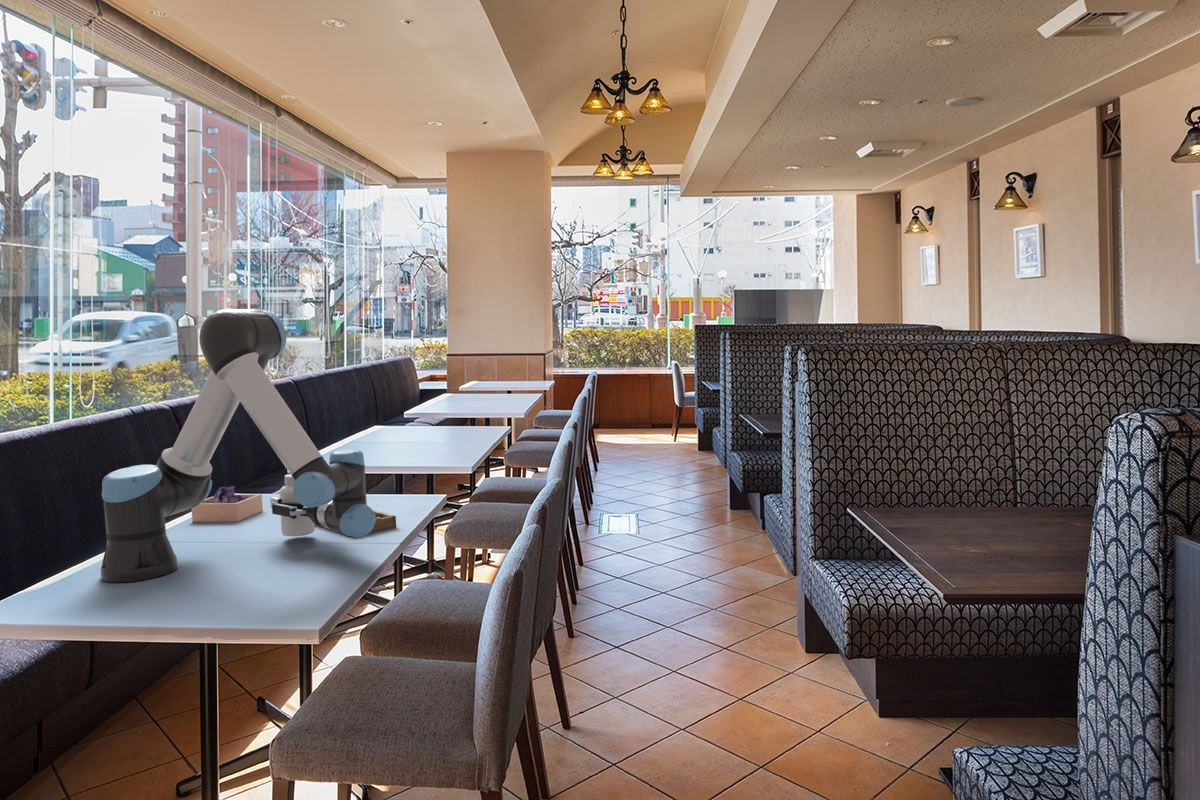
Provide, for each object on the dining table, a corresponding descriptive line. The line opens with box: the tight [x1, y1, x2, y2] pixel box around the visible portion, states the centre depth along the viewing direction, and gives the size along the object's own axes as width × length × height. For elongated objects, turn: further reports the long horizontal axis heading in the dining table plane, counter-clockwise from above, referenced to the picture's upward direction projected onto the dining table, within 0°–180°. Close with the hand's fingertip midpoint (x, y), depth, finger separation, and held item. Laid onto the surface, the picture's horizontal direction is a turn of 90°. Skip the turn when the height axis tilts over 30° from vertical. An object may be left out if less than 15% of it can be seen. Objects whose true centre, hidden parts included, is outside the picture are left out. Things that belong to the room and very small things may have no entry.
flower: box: [213, 485, 244, 503], centre depth 248 cm, size 9×9×10 cm
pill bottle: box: [279, 473, 316, 537], centre depth 216 cm, size 8×8×15 cm
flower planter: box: [190, 493, 264, 523], centre depth 247 cm, size 13×14×5 cm
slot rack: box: [314, 509, 397, 535], centre depth 230 cm, size 24×12×3 cm, turn 44°
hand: (288, 499), depth 220 cm, fingers closed on pill bottle, 8 cm apart
